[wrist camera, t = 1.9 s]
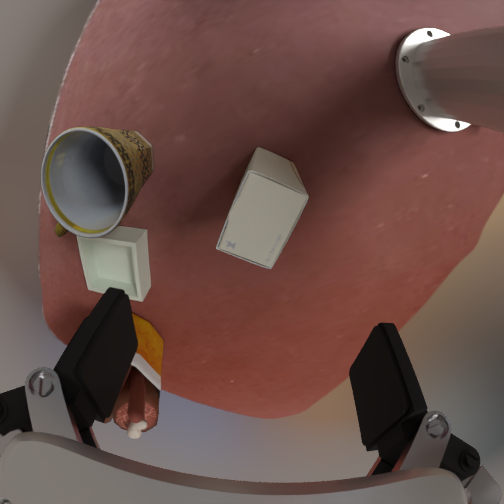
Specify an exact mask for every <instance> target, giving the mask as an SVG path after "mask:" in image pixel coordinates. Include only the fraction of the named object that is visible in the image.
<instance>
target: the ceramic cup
mask: <svg viewBox="0 0 504 504" xmlns="http://www.w3.org/2000/svg"><path fill="white" fill-rule="evenodd" d="M153 170H154V161H153V147H152V145H151V144H150V143H149V142H148V141H147V140H146V139H145V138H144V137H143V136H142V135H141V134H140V133H139V132H137V131H128V130H114V129H110V128H103V127H76V128H71V129H68V130H66V131H64V132H63V133H61V134H60V135H58V136H57V137H56V138H55V139H54V140H53V141H52V143H51V144H50V146H49V147H48V149H47V151H46V154H45V156H44V159H43V163H42V169H41V183H42V190H43V194H44V198H45V201H46V203H47V205H48V207H49V209H50V211H51V213H52V214H53V216H54V217H55V219H56V220H57V221H58V223H57V225H56V228H55V233H56V235H57V236H58V237H62V236H63V235H64V234H65V233H66V232H67V231H70V232H71V233H73V234H75V235H78V236H80V237H85V238H99V237H102V236H105V235H107V234H109V233H110V232H112V231H113V230H114V229H115V228H116V227H117V226H118V225H119V224H120V222H121V221H122V219H123V218H124V217H125V215H126V214H127V212H128V211H129V209H130V207H131V206H132V204H133V203H134V201H135V199H136V197H137V195H138V193H139V191H140V189H141V187H142V186H143V184H144V183H145V181H146V180H147V179H148V177H149V176H150V175H151V173H152V172H153Z"/></svg>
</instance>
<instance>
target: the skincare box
mask: <svg viewBox="0 0 504 504" xmlns="http://www.w3.org/2000/svg"><path fill="white" fill-rule="evenodd" d="M308 198H309V196H308V194H307V192H306V190H305V187H304V185H303V182H302V180H301V178H300V176H299V173H298V171H297V169H296V167H295V164H294V163H293V162H291V161H289V160H287V159H285V158H283V157H281V156H279V155H277V154H274V153H272V152H270V151H267V150H265V149H263V148H260V147H257V148H256V150H255V152H254V154H253V156H252V158H251V160H250V162H249V164H248V167H247V169H246V171H245V173H244V176H243V178H242V180H241V183H240V185H239V188H238V190H237V193H236V195H235V198H234V200H233V203H232V206H231V208H230V211H229V213H228V216H227V219H226V221H225V224H224V227H223V229H222V232H221V234H220V237H219V240H218V243H217V246H216V249H217V250H220V251H223V252H225V253H228V254H230V255H233V256H235V257H237V258H240V259H243V260H246V261H248V262H250V263H253V264H256V265H259V266H262V267H265V268H267V269H271V268H272V267H273V265H274V263H275V262H276V260H277V259H278V257H279V255H280V253H281V252H282V250H283V248H284V246H285V244H286V242H287V241H288V239H289V237H290V235H291V233H292V231H293V229H294V227H295V225H296V223H297V221H298V219H299V217H300V215H301V213H302V211H303V209H304V207H305V205H306V203H307V201H308Z"/></svg>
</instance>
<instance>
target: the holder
mask: <svg viewBox="0 0 504 504" xmlns="http://www.w3.org/2000/svg"><path fill="white" fill-rule="evenodd" d="M76 236H77V241H78V247H79V252H80V257H81V261H82V266H83V270H84V275H85V279H86V283H87V287H88V290H91V291H95V292H99V293H105V292H106V290H107V289H108V288H109V287H113V288H118V289H123V290H124V291H125V294H128V296H129V299H131V300H136V301H141V302H143V300H144V298H145V297H146V295H147V293H148V291H149V289H150V287H151V278H150V267H149V254H148V239H147V229H139V228H131V227H124V226H117V227H116V228H115V229H114V230H113V231H112V232H110V233H109V234H107V235H105V236H102V237H99V238H85V237H80V236H78V235H76Z"/></svg>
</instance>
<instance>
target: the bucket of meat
mask: <svg viewBox="0 0 504 504" xmlns="http://www.w3.org/2000/svg"><path fill="white" fill-rule="evenodd" d="M132 316H133V321H134V326H135V330H136V335H137V339H138V348H137V351H136V353H135V356H134V358H133V361H132V363H131V365H130V368H129V370H128V373H127V375H126V377H125V380H124V382H123V385H122V387H121V390H120V392H119V395H118V398H117V400H116V403H115V405H114V408H113V411H112V413H111V416H110V417H109V418H106V419H105V421H104V423H108V422H110V421H111V420H112V418H113V419H114V423H116V424H117V425H118V426H119V427H120V428H122V429H124V430H127V434H128V436H129V437H131V438H132V439H133V438H140V436H141V432H146V431H148V430H149V429H151V428H153V427H154V426H156V425H157V421H158V414H159V397H160V390H161V368H162V355H163V344H164V341H163V340H162V338H161V336H160V335H159V334H158V333H157V331H156V330H155V329H154V327H153V326H152V325H151V324H150V322H149V321H147V320H146V319H144V318H142V317H140V316H138V315H136V314H135V313H133V312H132Z"/></svg>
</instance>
